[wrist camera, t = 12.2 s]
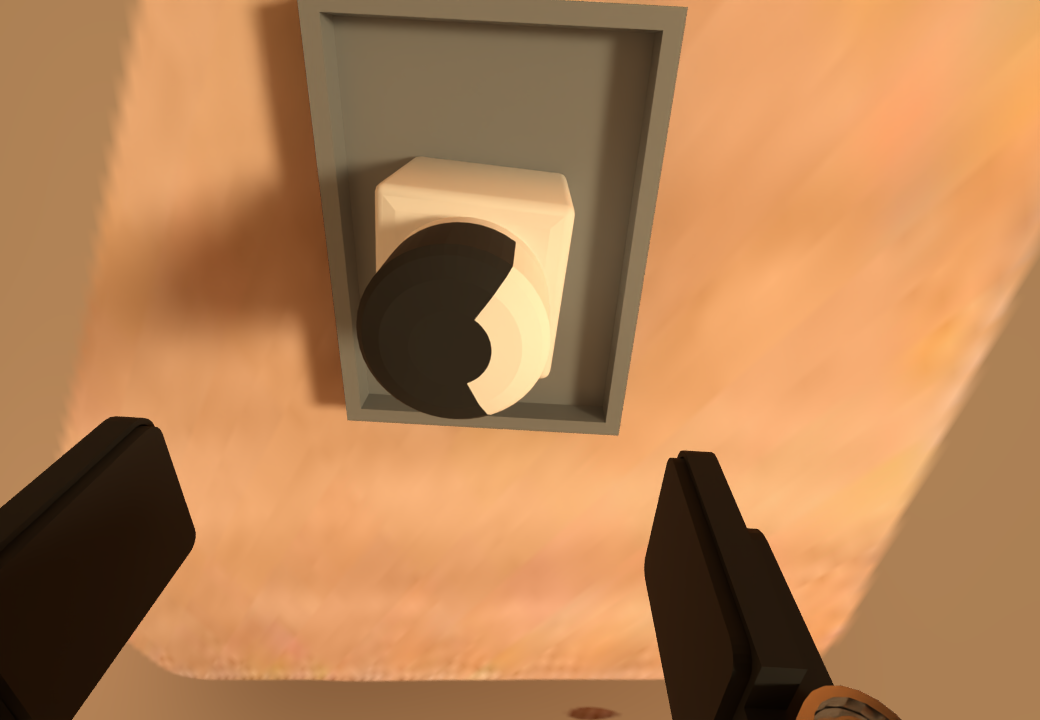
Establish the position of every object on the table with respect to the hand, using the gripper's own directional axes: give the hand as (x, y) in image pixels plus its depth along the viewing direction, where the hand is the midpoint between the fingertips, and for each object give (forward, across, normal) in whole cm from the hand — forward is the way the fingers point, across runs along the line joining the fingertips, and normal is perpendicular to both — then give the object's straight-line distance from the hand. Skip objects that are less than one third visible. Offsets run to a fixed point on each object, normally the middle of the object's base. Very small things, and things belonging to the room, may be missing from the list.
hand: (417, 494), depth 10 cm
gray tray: (+19, 0, +1) cm, 19 cm away
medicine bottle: (+19, 0, +1) cm, 19 cm away
